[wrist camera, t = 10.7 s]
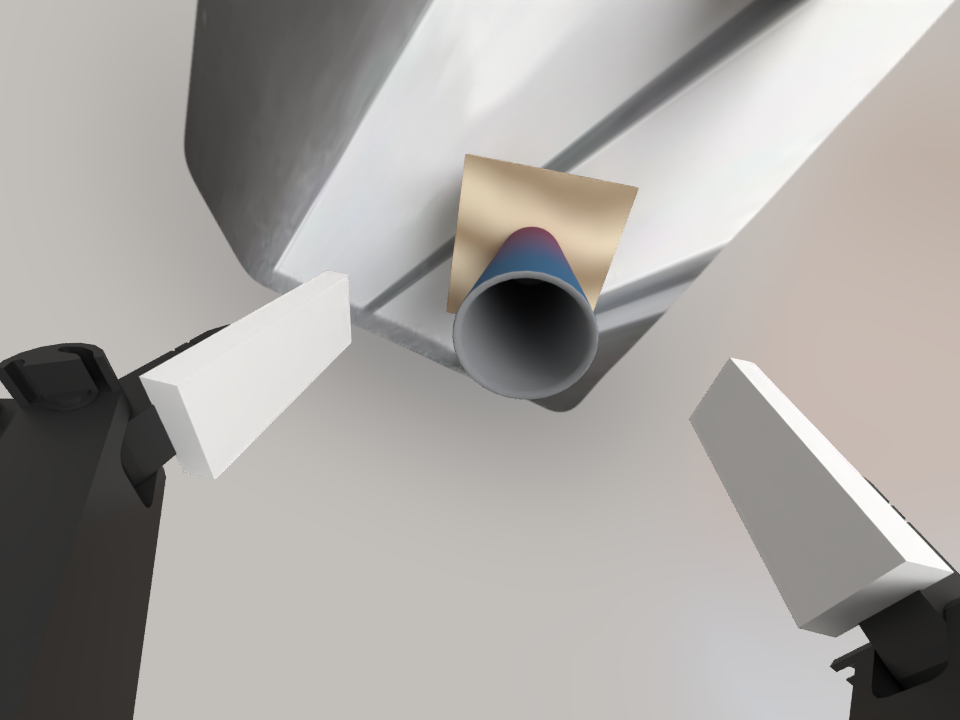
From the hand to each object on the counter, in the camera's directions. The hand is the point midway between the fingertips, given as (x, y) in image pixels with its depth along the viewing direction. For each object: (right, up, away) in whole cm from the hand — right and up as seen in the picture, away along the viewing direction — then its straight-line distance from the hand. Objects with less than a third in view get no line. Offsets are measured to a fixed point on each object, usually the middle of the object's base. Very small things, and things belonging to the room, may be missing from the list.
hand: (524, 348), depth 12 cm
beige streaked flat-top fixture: (+4, +12, +24) cm, 27 cm away
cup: (+3, +8, +17) cm, 19 cm away
